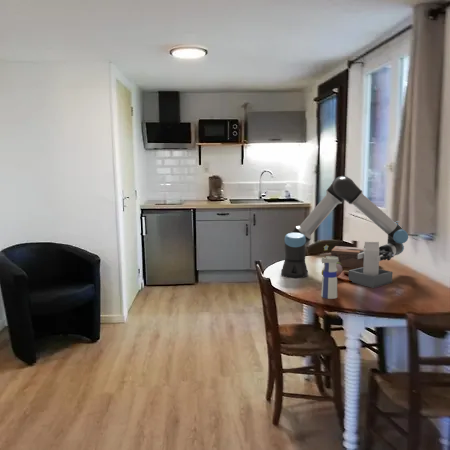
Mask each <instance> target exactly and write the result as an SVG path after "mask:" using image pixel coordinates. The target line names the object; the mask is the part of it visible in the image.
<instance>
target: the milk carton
mask: <svg viewBox="0 0 450 450" xmlns="http://www.w3.org/2000/svg"><path fill="white" fill-rule="evenodd" d="M379 247H380V243H379V241H364V246H363V248H364V262H363V273H364V274H368V275H372V276H375V275H378V272H379V269H380V261H379V262H376V257H377V256H379Z"/></svg>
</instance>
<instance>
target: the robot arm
mask: <svg viewBox="0 0 450 450" xmlns="http://www.w3.org/2000/svg"><path fill="white" fill-rule="evenodd" d="M344 202H347V203H348V204H349V205H353V206H354V207H356V209H358V210H359V211H360V213H362V214H364V215H365V216H366V217H367V218H368V219H369V220H370V221H371V222H373V223H374V224H375V225H376V226H377V227H379V228H380V229H381V230H382V231H383V232H384V233H385V234H386V235H387V243H385V244H382V245H379V256H377V257H376V262H379V263H380V262H381V261H386V260H387V261H390V260H391V259H392V258H394V257H395V256H398V255H400V254H402V253H403V252H404V249H405V246H404V244H405V243H406V242H407V241H408V239H409V234H408V232H407V231H406V229H403V227H402V228H401V227H400V226H399V225H398V223H396V222H397V221H396V222H394V220H393V219H392V218H391V217H390V216H389V215H388V214H386V213H385V211H383V210H382V209H380V208H379V206H377V205H376V204H375V203H374V202H373V201H372V200H370V199H369V198H368V197H367V196H366V195H365V194H363V190H361V188H359V186H358V185H357V184H356V183H355V181H353V179H352V178H350V177H349V176H345V175H341V176H337V177H336V178H334V180H333V181H332V182H331V184H330V186H328V188H327V189H326V193H325V195H324V197H322V199H321V200H320V201H319V202H318V204H317V205H316V206H315V207H314V208H313V210H312V211H311V212H310V213H309V214H308V215H307V216H306V217H305V219H304V220H303V221H302V222H301V223H300V225H296V226H295V227H294V228H293V229H292V230H291V231H290V232H289V233H286V234H285V236H284V239H283V240H284V261H283V265H282V269H281V271H280V272H281V273H280V275H281V276H282V277H285V278H290V279H291V278H292V279H301V278H302V279H303V278H307V277H308V276H309V272H308V268H307V267H308V266H307V263H306V245H307V244H308V243H309V242H310V241H311V240H312V235H313V234H314V232H316V230H317V229H318V228H319V226H320V225H321V224H322V223H323V222H324V220H325V219H326V218H327V217H328V216H330V214H331V213H332V212H333V210H334V209H335V208H337V206H338V205H340V204H343V203H344ZM361 258H364V251H360V253H359V254H358V259H361Z"/></svg>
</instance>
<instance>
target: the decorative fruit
mask: <svg viewBox="0 0 450 450" xmlns="http://www.w3.org/2000/svg"><path fill="white" fill-rule="evenodd" d="M340 264H341V263H339V262H337V263H336V268H337V271H336V277H337V278H338V277H339V276H340V275H341V274H342V273H343V267H342V266H341V265H342V264H341V265H340Z"/></svg>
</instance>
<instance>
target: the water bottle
mask: <svg viewBox="0 0 450 450" xmlns="http://www.w3.org/2000/svg"><path fill="white" fill-rule="evenodd" d="M329 247H330V246H329V245H328V244H325V246H323V248H324V249H323V251H328V248H329ZM338 261H339V259H338V257H335V256H331V255H326V256H325V257H321V264H323V267H322V269H321V275H322V278H321V291H320V296H321V298H323V299H329V300H333V299H337V298H338V277H336V271H337V268H336V263H337V262H338Z"/></svg>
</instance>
